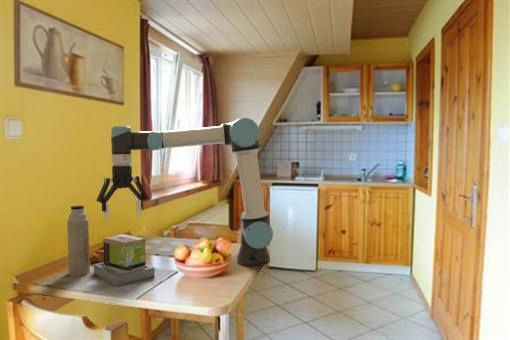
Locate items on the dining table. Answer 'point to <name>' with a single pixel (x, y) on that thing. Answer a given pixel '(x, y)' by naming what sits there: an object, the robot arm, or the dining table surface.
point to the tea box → (124, 253)
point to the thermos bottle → (78, 242)
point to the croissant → (98, 255)
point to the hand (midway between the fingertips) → (123, 217)
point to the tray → (123, 275)
